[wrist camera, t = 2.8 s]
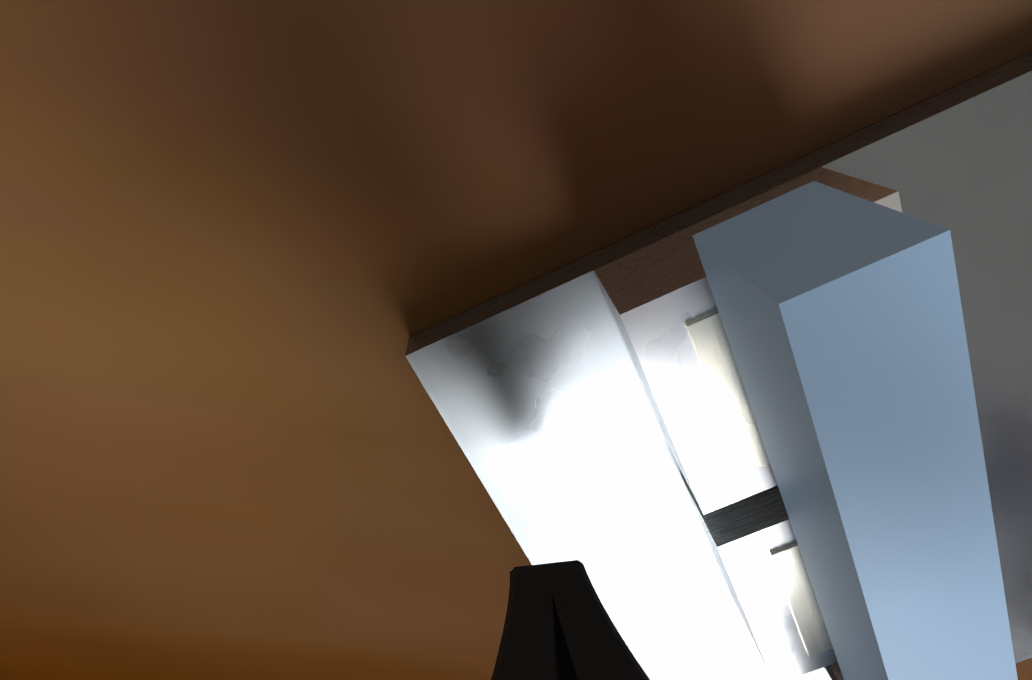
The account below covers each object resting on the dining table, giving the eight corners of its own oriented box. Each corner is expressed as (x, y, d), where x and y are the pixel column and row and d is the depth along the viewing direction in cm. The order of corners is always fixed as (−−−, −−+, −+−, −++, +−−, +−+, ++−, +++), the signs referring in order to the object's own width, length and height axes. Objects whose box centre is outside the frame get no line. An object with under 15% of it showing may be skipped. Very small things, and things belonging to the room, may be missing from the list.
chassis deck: (1183, 568, 20) (1218, 592, 19) (657, 754, 22) (665, 784, 21) (1201, -27, 13) (1258, -33, 12) (409, 337, 15) (405, 355, 14)
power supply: (907, 538, 17) (978, 615, 15) (735, 603, 18) (776, 688, 15) (874, 396, 15) (950, 460, 13) (681, 475, 16) (719, 550, 13)
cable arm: (980, 732, 16) (1085, 871, 13) (844, 778, 16) (919, 921, 14) (863, 157, 10) (1022, 198, 7) (645, 257, 10) (712, 332, 7)
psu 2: (867, 364, 15) (943, 423, 12) (668, 446, 15) (705, 517, 13) (820, 166, 13) (902, 192, 10) (593, 270, 13) (621, 316, 11)
